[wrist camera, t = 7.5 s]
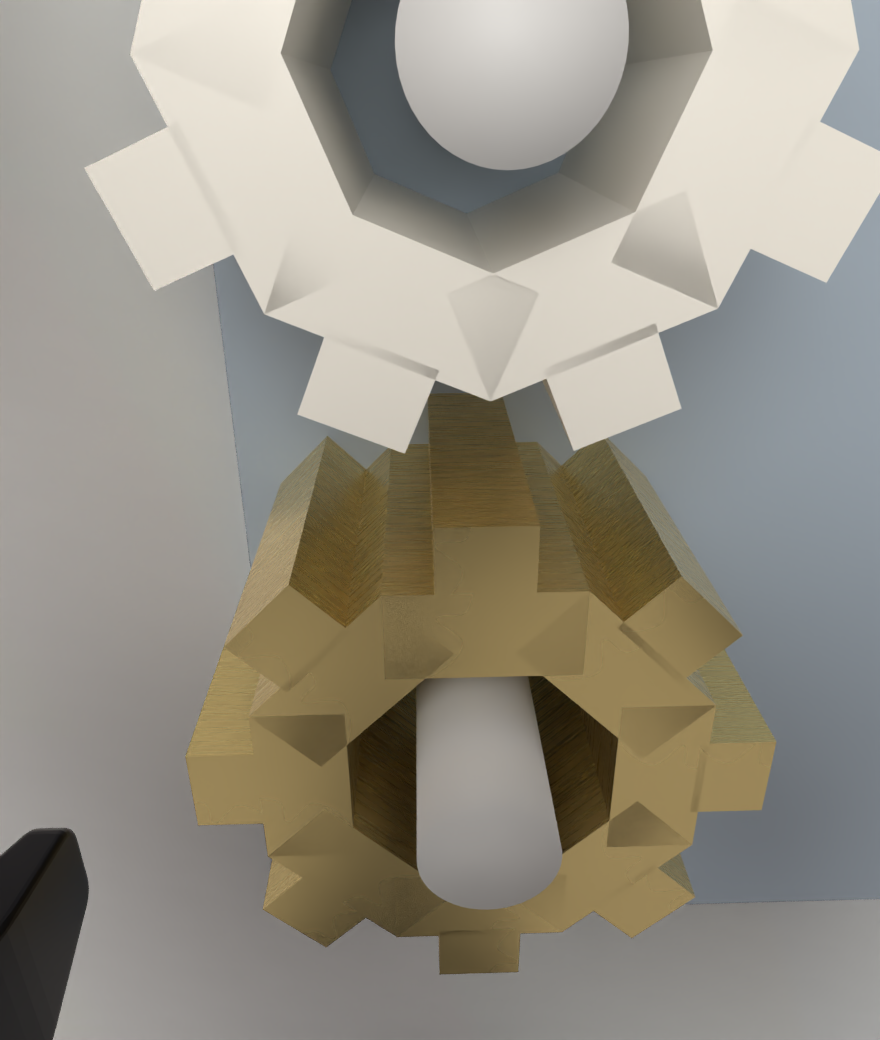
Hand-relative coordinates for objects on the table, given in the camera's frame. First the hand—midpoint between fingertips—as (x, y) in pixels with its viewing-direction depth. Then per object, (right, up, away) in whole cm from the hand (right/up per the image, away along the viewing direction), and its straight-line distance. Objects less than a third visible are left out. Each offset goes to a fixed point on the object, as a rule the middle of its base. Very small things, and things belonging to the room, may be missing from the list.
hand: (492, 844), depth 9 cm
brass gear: (0, +2, +5) cm, 6 cm away
